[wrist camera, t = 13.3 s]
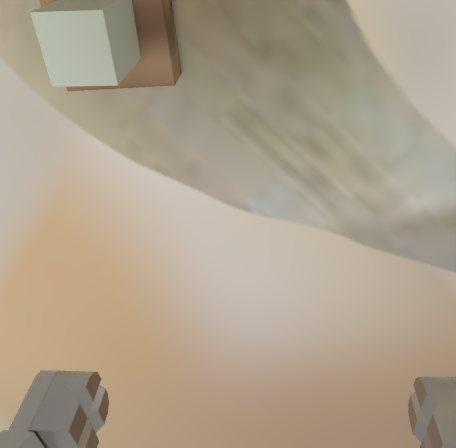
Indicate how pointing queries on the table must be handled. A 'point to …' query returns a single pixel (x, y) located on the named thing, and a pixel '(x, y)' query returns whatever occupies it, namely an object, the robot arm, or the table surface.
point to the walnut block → (149, 47)
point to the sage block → (87, 41)
